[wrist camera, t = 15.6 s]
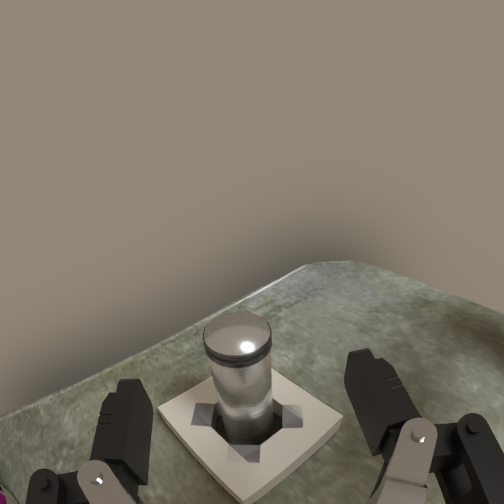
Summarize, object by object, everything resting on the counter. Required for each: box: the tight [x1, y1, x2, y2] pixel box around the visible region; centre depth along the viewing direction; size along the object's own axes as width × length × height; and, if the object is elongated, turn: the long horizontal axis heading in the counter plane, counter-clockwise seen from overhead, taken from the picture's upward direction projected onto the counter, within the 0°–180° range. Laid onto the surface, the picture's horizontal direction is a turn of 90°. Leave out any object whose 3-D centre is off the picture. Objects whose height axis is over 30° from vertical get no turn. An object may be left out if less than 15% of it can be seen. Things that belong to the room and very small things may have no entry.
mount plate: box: [157, 368, 343, 504], centre depth 29 cm, size 13×14×2 cm
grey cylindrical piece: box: [203, 312, 273, 445], centre depth 27 cm, size 5×5×14 cm
